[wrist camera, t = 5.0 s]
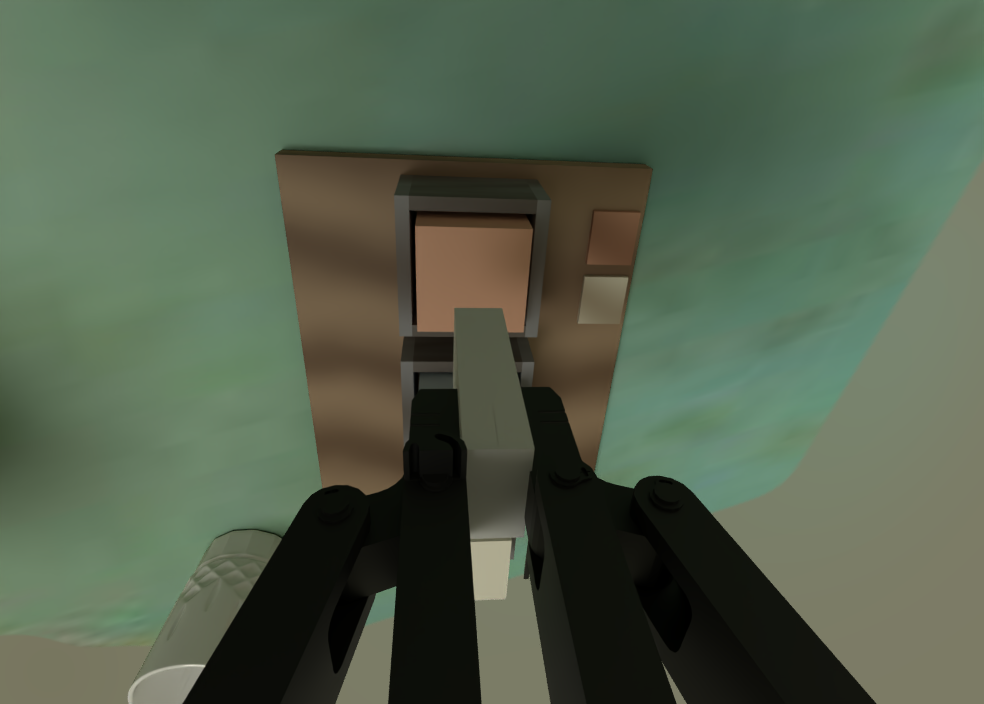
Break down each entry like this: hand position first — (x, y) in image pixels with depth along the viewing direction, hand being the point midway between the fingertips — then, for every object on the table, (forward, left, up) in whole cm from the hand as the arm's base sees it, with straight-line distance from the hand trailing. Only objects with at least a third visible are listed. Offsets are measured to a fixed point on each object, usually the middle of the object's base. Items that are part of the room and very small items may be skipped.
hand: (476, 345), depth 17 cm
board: (+9, 0, -13) cm, 15 cm away
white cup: (+26, -15, -13) cm, 32 cm away
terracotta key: (+1, 0, -11) cm, 11 cm away
